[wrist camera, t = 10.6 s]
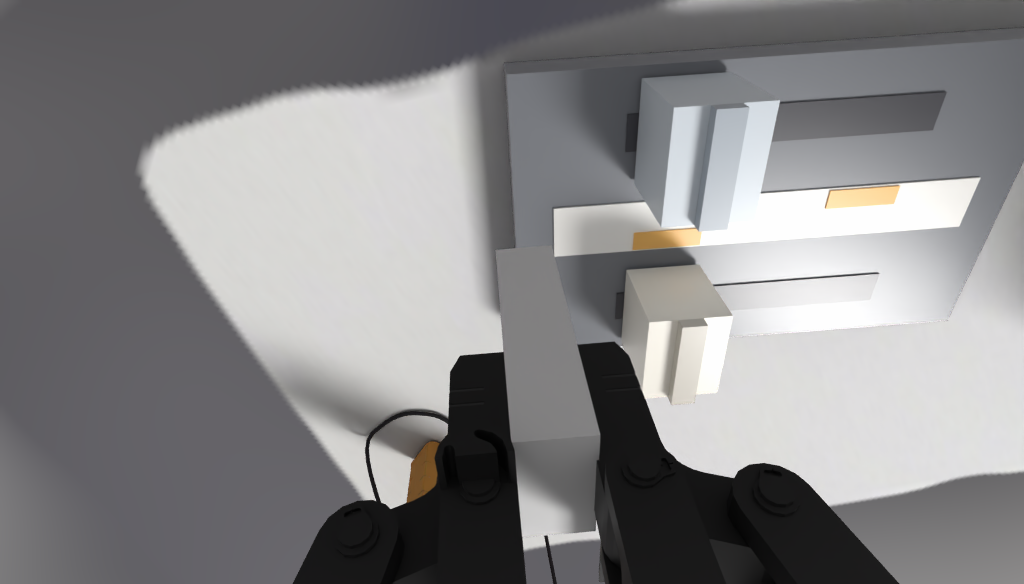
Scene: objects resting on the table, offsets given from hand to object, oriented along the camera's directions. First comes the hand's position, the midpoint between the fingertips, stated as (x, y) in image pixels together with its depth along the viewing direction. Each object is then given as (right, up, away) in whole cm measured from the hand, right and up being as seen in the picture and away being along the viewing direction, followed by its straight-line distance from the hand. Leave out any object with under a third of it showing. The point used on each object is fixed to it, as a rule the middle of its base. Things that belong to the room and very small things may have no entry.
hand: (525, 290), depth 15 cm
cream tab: (+8, -1, +16) cm, 18 cm away
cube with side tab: (+8, +8, +11) cm, 15 cm away
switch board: (+13, +5, +16) cm, 21 cm away
